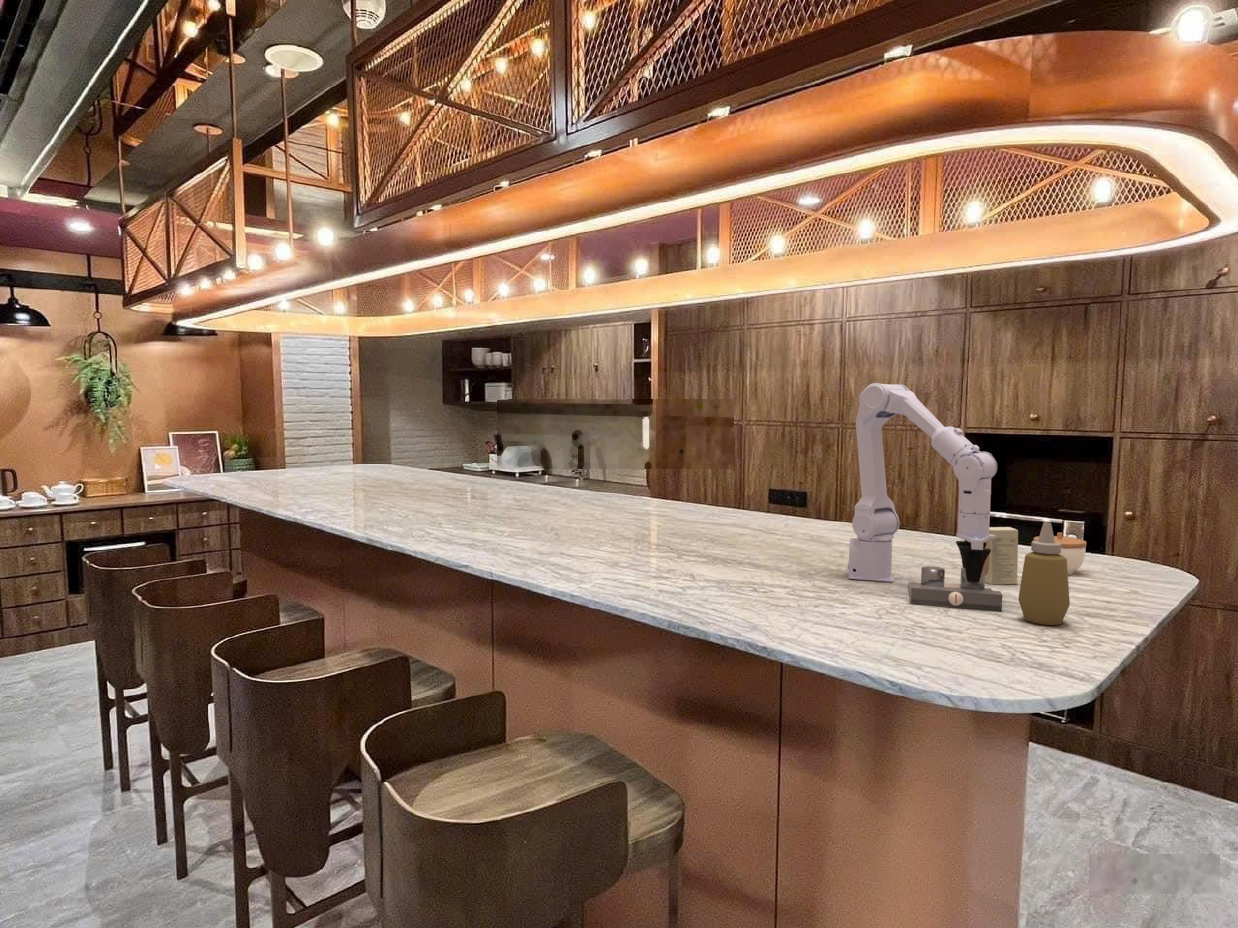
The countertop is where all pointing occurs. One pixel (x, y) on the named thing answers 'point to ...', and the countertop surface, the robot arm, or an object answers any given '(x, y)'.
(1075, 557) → the lidded jar
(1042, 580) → the squeeze bottle
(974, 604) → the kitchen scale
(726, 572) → the countertop surface
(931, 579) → the block
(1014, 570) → the skincare box
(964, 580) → the cylinder
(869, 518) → the robot arm
